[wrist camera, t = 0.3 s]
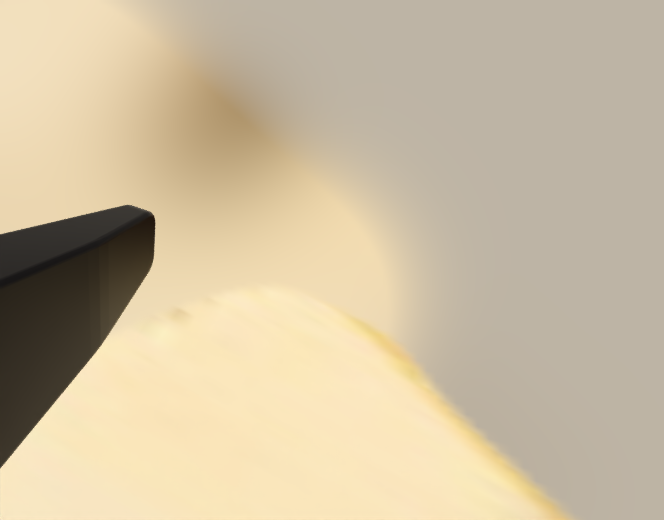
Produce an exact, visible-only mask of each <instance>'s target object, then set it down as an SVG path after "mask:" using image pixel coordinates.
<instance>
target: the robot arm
mask: <svg viewBox="0 0 664 520" xmlns="http://www.w3.org/2000/svg"><path fill="white" fill-rule="evenodd" d="M154 243H155V218H154V215H153V214H152V213H151V212H149V211H147V210H144V209H141V208H138V207H135V206H132V205H125V206H120V207H115V208H111V209H107V210H103V211H98V212H94V213H90V214H86V215H81V216H77V217H73V218H68V219H64V220H60V221H56V222H51V223H47V224H43V225H38V226H34V227H30V228H26V229H21V230H17V231H13V232H8V233H4V234H0V468H1V467H2V466H3V465H4V463H5V462H6V461H7V460H8V458H9V457H10V456H11V455H12V454H13V452H14V451H15V450H16V449H17V448H18V446H19V445H20V444H21V443H22V441H23V440H24V439H25V438H26V437H27V435H28V434H29V433H30V432H31V431H32V429H33V428H34V427H35V426H36V424H37V423H38V422H39V421H40V420H41V418H42V417H43V416H44V415H45V414H46V412H47V411H48V410H49V409H50V407H51V406H52V405H53V404H54V403H55V401H56V400H57V399H58V398H59V397H60V395H61V394H62V393H63V392H64V390H65V389H66V388H67V387H68V386H69V384H70V383H71V382H72V381H73V380H74V378H75V377H76V376H77V375H78V373H79V372H80V371H81V370H82V369H83V367H84V366H85V365H86V364H87V363H88V361H89V360H90V359H91V358H92V356H93V355H94V354H95V353H96V351H97V350H98V349H99V347H100V346H101V345H102V343H103V342H104V340H105V339H106V337H107V336H108V335H109V333H110V332H111V330H112V328H113V327H114V325H115V323H116V322H117V320H118V319H119V318H120V316H121V314H122V313H123V311H124V310H125V308H126V307H127V305H128V303H129V302H130V300H131V299H132V297H133V296H134V294H135V293H136V291H137V290H138V288H139V286H140V285H141V283H142V282H143V280H144V278H145V277H146V276H147V274H148V272H149V271H150V268H151V266H152V263H153V259H154Z"/></svg>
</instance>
